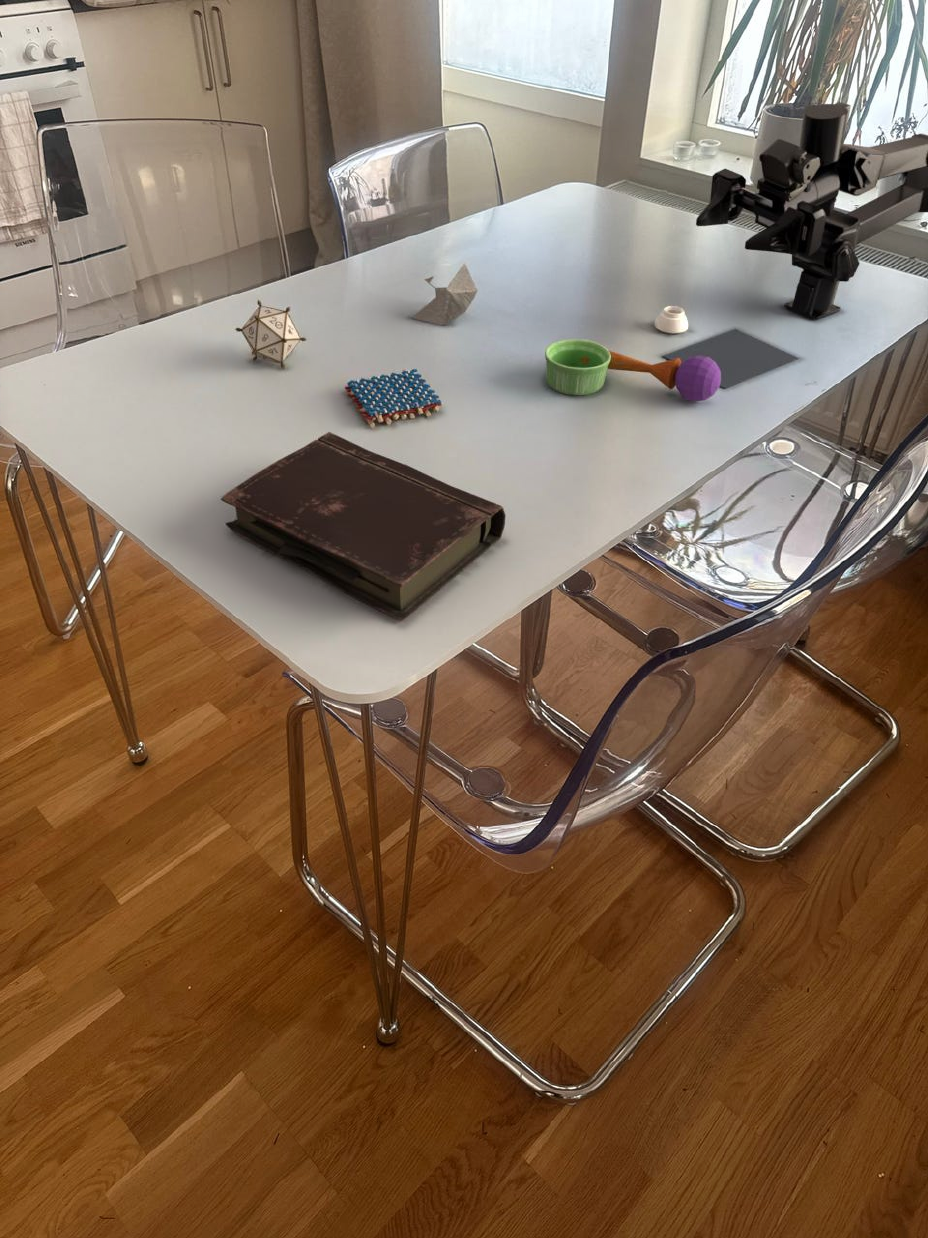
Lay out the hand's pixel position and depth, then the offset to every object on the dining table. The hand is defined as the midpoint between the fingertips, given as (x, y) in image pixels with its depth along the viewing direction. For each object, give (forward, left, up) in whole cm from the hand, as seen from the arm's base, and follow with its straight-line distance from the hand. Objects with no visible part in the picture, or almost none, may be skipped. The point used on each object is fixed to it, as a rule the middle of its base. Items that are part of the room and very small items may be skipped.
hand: (720, 233), depth 128 cm
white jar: (-1, -7, -17) cm, 18 cm away
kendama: (+15, +4, -17) cm, 23 cm away
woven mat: (+47, -12, -17) cm, 51 cm away
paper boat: (+24, -31, -17) cm, 43 cm away
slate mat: (-1, +5, -17) cm, 17 cm away
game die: (+54, -32, -17) cm, 65 cm away
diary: (+66, +11, -17) cm, 69 cm away
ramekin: (+23, -2, -17) cm, 28 cm away
